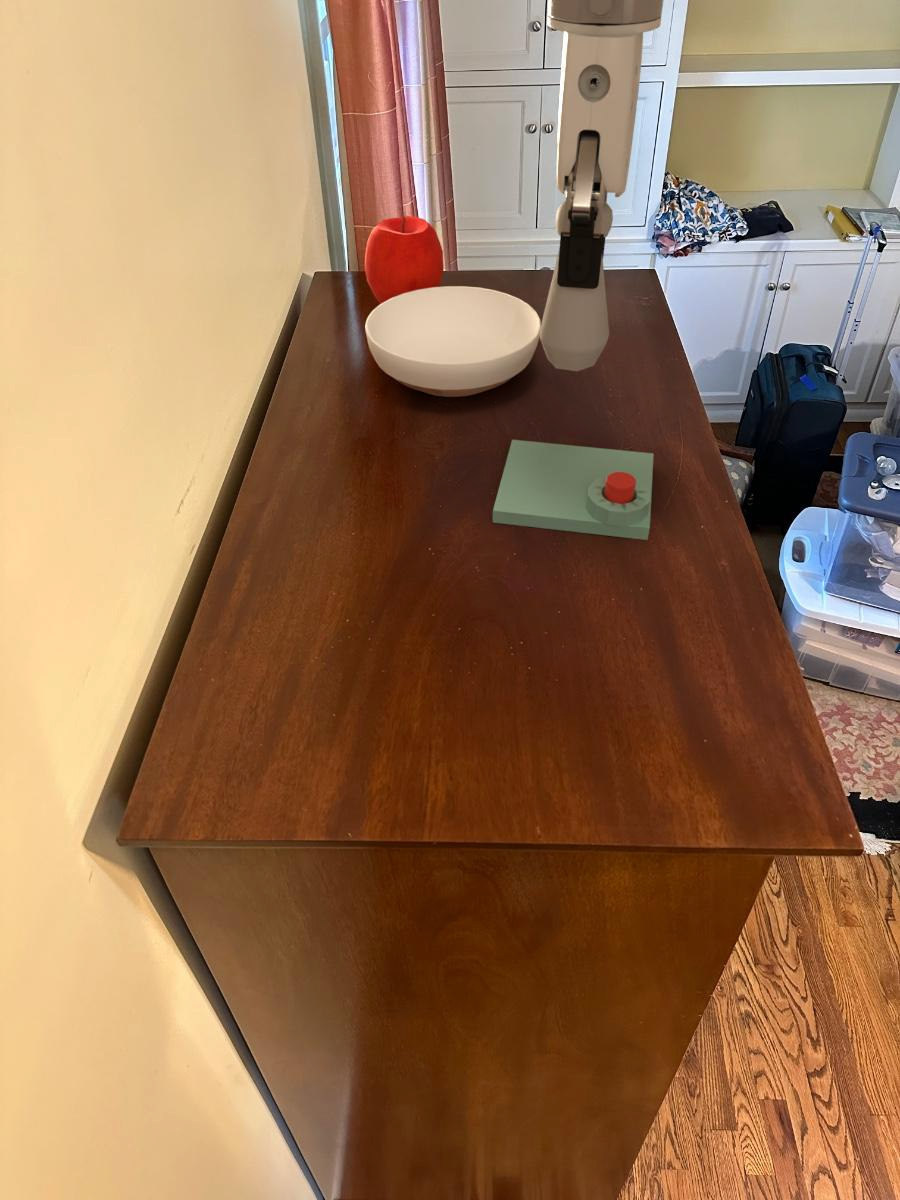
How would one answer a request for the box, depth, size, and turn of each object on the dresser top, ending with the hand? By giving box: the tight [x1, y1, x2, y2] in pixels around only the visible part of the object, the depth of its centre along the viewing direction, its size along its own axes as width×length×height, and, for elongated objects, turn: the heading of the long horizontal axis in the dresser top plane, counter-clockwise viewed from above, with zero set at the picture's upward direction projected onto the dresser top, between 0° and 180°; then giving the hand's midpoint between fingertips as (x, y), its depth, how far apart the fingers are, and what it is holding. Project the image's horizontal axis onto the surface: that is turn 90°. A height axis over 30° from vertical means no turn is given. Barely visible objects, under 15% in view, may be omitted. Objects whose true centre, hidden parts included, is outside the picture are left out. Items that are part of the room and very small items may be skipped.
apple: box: [364, 215, 445, 305], centre depth 107 cm, size 10×10×12 cm
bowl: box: [364, 285, 542, 398], centre depth 97 cm, size 20×20×6 cm
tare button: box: [604, 472, 636, 504], centre depth 76 cm, size 3×3×2 cm
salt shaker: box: [539, 200, 614, 372], centre depth 70 cm, size 6×6×13 cm
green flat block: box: [492, 439, 654, 541], centre depth 81 cm, size 14×12×3 cm
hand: (580, 271), depth 69 cm, fingers closed on salt shaker, 4 cm apart
